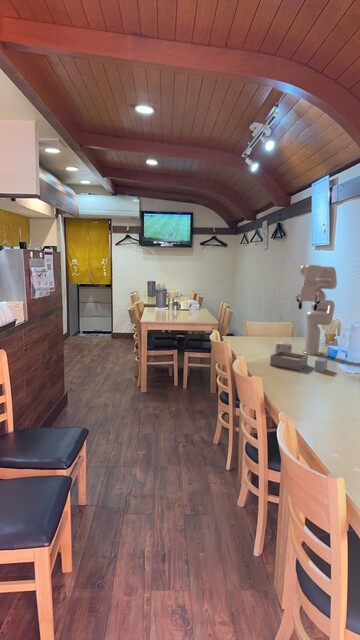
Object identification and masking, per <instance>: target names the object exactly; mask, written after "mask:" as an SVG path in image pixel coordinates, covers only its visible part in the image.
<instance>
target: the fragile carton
mask: <svg viewBox="0 0 360 640" xmlns="http://www.w3.org/2000/svg"><path fill="white" fill-rule="evenodd" d="M328 361H329V359H328V358H325V357H318V358H317V359H315V360H314V371H313V372H316V373H321V374H323V373H325V372H326V371H327V370H328Z"/></svg>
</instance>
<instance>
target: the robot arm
mask: <svg viewBox="0 0 360 640" xmlns="http://www.w3.org/2000/svg"><path fill="white" fill-rule="evenodd" d="M299 272H300V273H299V274H300V275H301V277H303V278H304V279H303V285H302V286H301V291H300V294H298V295H296V296H295V299H296V301H297V303H298V309H299V310H303V302H311V307H310V309H311V310H310V311H308V312H306V316H305V318H306V333H305V334H306V335H305V345H304V350H302V354H303V355H307V356H320V355H321V353H322V352H321V351H320V350H319V349H320V342H321V341H320V339H321V329H320V327H319V326H318V325H320V326H330V325H331V324H332V322H333V316H334V311H335V302H334V301H333V300H330V299H326V298H327V295H326V293H325V292H324V291H323V290H335V289H336V287H337V285H338V280H337V279H338V278H337V271H336V268H335V267H334V266H323V265H318V264H317V265H315V264H303V265H301V267H300V269H299Z"/></svg>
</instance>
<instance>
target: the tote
mask: <svg viewBox="0 0 360 640" xmlns="http://www.w3.org/2000/svg"><path fill="white" fill-rule="evenodd" d="M308 358H309V355H308V354H301V353H294V352H293V353H292V352H291V353H289V352H283V351H279V352H277V353H275V352H274V353H273V354H271V355H270V360H269V366H271V367H277V368H282V369H286V370H291V371H296V372H300V371H301V370H303V369H304V368H305V367H307V366H308Z"/></svg>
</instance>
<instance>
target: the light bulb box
mask: <svg viewBox="0 0 360 640" xmlns="http://www.w3.org/2000/svg"><path fill="white" fill-rule="evenodd" d="M292 346H293V344H292V343H291V342H285V341H284V342H282V341H281V342H280V341H275V342H274V354H275V353H277V352H279V351H283V352H289V353H292V349H293V348H292Z"/></svg>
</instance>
